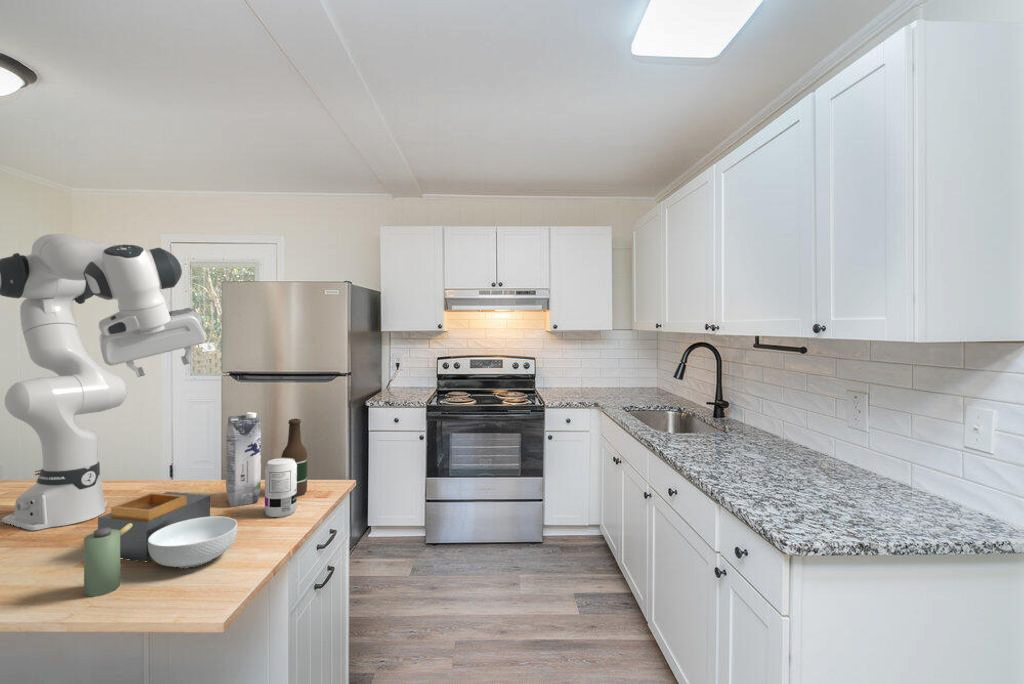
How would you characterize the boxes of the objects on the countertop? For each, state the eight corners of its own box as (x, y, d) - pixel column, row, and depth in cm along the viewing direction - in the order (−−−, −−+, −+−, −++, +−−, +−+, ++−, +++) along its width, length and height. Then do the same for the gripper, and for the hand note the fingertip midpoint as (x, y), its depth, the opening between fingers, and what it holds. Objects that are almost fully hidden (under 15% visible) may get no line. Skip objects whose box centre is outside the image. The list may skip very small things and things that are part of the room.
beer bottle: (297, 499, 148) (297, 422, 147) (275, 496, 149) (275, 420, 149) (312, 490, 155) (313, 417, 155) (291, 488, 157) (291, 416, 156)
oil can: (86, 600, 92) (86, 538, 91) (82, 589, 95) (82, 529, 95) (135, 585, 97) (135, 526, 97) (129, 575, 101) (129, 519, 101)
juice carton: (227, 509, 138) (227, 417, 138) (225, 498, 147) (226, 411, 146) (261, 503, 143) (262, 414, 143) (257, 493, 152) (258, 409, 151)
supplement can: (258, 515, 134) (258, 462, 134) (282, 505, 142) (282, 456, 141) (279, 520, 131) (279, 466, 131) (302, 510, 139) (303, 459, 138)
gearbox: (86, 555, 109) (86, 507, 109) (157, 524, 127) (157, 482, 127) (146, 562, 107) (146, 512, 106) (210, 529, 124) (210, 487, 124)
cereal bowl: (243, 539, 119) (243, 511, 119) (229, 571, 103) (229, 539, 103) (162, 549, 113) (162, 520, 113) (134, 585, 97) (134, 551, 97)
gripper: (194, 303, 119) (209, 353, 124) (89, 323, 106) (111, 378, 112) (200, 309, 115) (215, 360, 120) (92, 331, 102) (114, 387, 107)
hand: (164, 369), depth 116 cm, fingers open, 8 cm apart
